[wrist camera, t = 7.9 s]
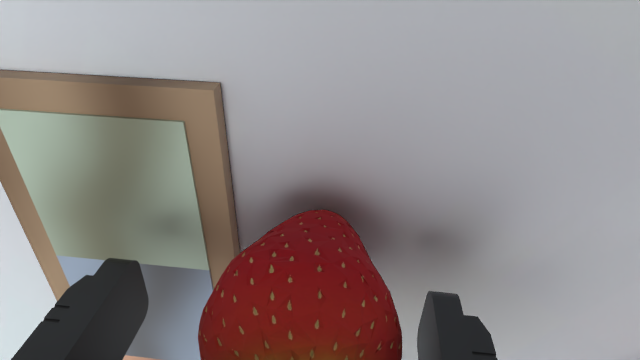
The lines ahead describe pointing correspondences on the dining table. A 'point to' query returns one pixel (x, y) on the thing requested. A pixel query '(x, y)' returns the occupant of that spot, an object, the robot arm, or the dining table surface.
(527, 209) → the dining table surface
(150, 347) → the wooden color swatch board
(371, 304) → the fruit
